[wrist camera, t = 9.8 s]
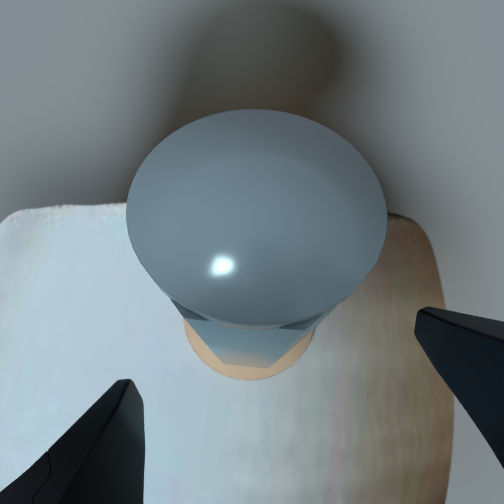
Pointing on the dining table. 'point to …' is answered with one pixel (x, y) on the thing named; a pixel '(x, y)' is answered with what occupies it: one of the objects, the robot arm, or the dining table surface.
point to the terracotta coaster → (243, 371)
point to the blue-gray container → (256, 228)
